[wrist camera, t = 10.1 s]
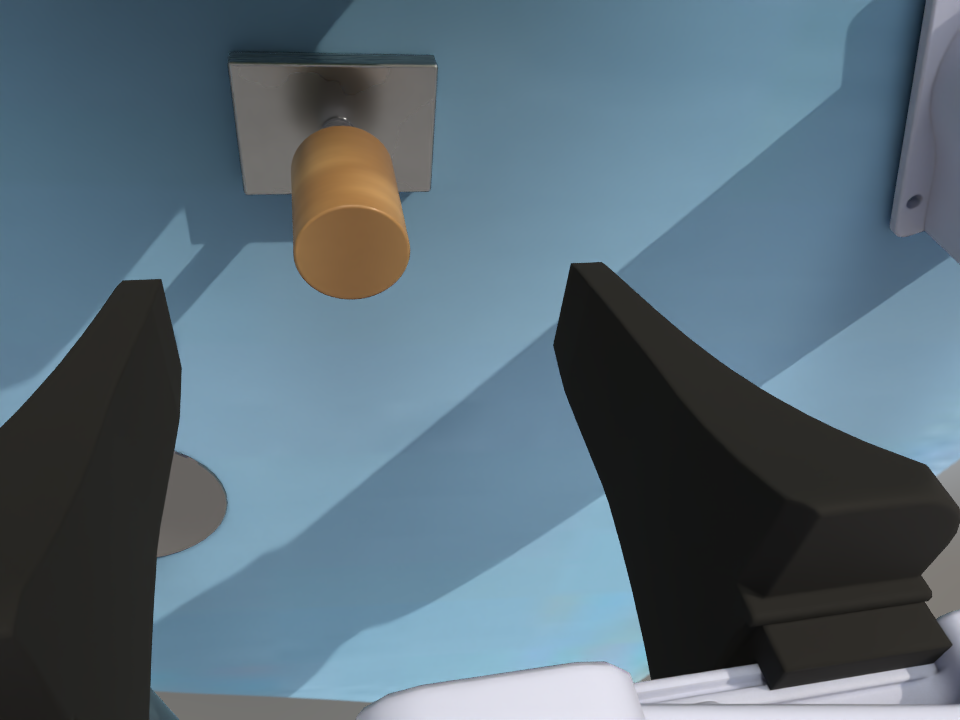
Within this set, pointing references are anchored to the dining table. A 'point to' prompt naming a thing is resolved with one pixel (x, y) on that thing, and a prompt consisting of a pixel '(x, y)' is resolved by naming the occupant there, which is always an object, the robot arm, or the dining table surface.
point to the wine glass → (187, 524)
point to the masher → (338, 155)
